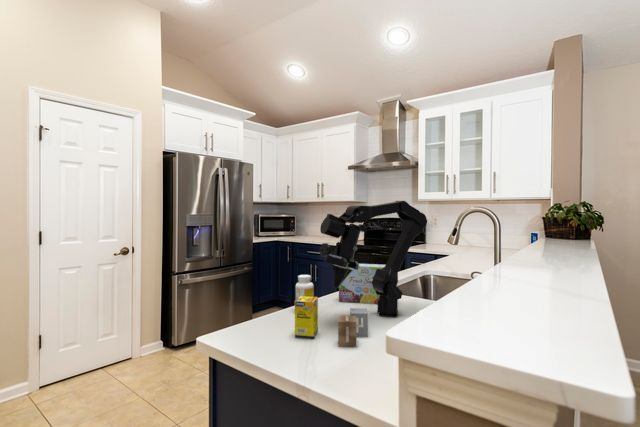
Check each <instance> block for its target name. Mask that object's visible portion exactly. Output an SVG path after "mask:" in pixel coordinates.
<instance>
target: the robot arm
mask: <svg viewBox="0 0 640 427" xmlns="http://www.w3.org/2000/svg"><path fill="white" fill-rule="evenodd" d="M391 214H396V215H397V216H398V218H399V219H400V221H401V225H400V226H401V233H400V234H399V237H398V239H397V241H396V243H395V244H394V248H393V250H392V251H391V253H390V255H389V257H388V260H387V262H386V263H385V264H384V265H385V267H384V268H383V269H377V270H376V272H375V275H374V276H373V277H372V279H373V281H372V285H373V288H374V290H375V291H376V294H377V295H380V296H379V299H378V304H377V313H378V315H377V316H381V317H393V318H398V316H399V310H398V309H399V306H398V305H399V300H400V299H402V297H403V292H402V290H400V288H399V287H398V283H399V271H400V269H401V267H402V265H403V262H404V260H405V258H406V256H407V254H408V252H409V250H410V248H411V246H412V243H413V242H414V240H415V238H416V237H417V236H418V235H420V234H421V233H422V232H423V231H424V230H425V228H426V226H427V225H428V219H427V216H426V214H425V213H423V212H421V211H420V210H419V209H417V208H416V207H414V206H412V205H410V203H408V202H407V201H406V200H395V201H391V202H386V203H379V204H374V205H349V206H347V208H346V209H345V211H344V212H343V213H342V214H341V215H339V216H336V215H334V214H332V213H327V214H326V217H325V218H324V219H323V220H322V222H321V224H320V228H319V229H320V233H321V234H322V235H326V236H329V237H332V238H336V239H339V238H340V240H339V241H337V242H336V244H335V245H334V246H332V245H329V243H327V242H326V243H325V242H323V243H321V246H319V247H320V248H319V249H318V252H319V253H320V257H321V258H324V259H325V260H324V262H325V263H327V264H330V266H331V267H332V270H333V272H334V282H333V284H334V288H335V289H339V286H340V285H341V284H342V282H343V281H344V280H345V279H346V277H347V276H348V275H349V274H350V273H351V272H352V271H353V270H351V269H349V267H350V268H353V269H356V270H358V266H359V264H360V263H359V262H358V261H356V260H355V258H354V256H355V252H356V251H358V248H359V247H357V245H358V243H359V242H358V241H359V238H360V235H361V233H367V229H366V228H365V225H364V224H362V223H366V222H367V221H369V220H372V219H373V218H376V217H380V216H385V215H386V216H387V215H391ZM354 223H356V224H354ZM357 224H358V225H357Z"/></svg>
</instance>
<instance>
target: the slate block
mask: <svg viewBox="0 0 640 427" xmlns="http://www.w3.org/2000/svg"><path fill="white" fill-rule="evenodd" d="M349 310H350V312H349V313H350V314H349V316H356V338H369V313H368V309H367V307H365V308H360V307H359V308H358V307H357V308H356V307H354V308H353V307H352V308H351V307H350V309H349Z"/></svg>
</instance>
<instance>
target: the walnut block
mask: <svg viewBox="0 0 640 427" xmlns="http://www.w3.org/2000/svg"><path fill="white" fill-rule="evenodd" d="M337 328H338V329H337V334H338V335H337V339H338V340H337V341H338V343H337V346H338V347H339V348H357V337H356V316H350V315H338V316H337Z"/></svg>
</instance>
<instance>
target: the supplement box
mask: <svg viewBox="0 0 640 427" xmlns="http://www.w3.org/2000/svg"><path fill="white" fill-rule="evenodd" d="M318 298H319V297H318V296H314V297H307V296H300V297H299V298H298V299H297V300H296V299H295V300H294V338H298V339H309V338H310V339H309V340H312V339H313V340H314V339H315V337H316V335H317V334H318V332H319V321H318V320H319V305H318V304H319V303H318V302H319V299H318Z"/></svg>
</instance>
